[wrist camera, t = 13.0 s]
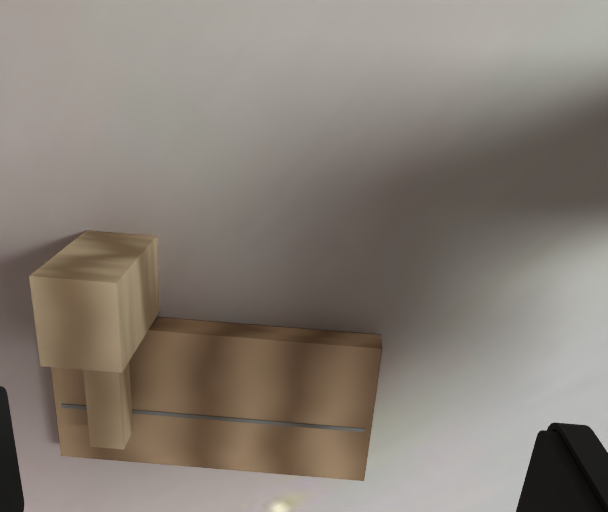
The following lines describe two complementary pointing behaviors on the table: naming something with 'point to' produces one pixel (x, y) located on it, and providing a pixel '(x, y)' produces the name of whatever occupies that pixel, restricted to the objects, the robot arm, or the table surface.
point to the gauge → (98, 320)
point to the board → (239, 399)
